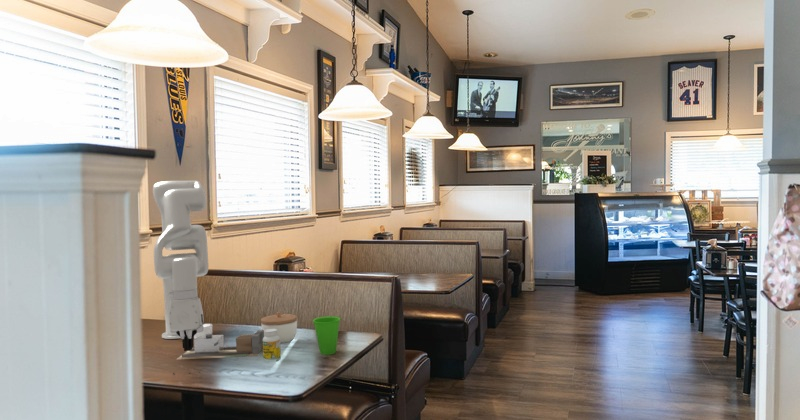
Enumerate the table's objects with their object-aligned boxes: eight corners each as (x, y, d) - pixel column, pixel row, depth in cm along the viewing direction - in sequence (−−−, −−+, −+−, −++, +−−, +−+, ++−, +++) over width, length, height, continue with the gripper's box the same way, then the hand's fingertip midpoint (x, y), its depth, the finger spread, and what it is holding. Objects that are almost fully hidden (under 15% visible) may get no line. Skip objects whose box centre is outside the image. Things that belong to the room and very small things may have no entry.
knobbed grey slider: (200, 350, 186) (199, 333, 186) (224, 349, 186) (223, 332, 186) (192, 356, 179) (191, 338, 179) (216, 355, 179) (216, 337, 179)
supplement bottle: (283, 358, 179) (282, 328, 178) (275, 363, 174) (273, 332, 173) (269, 357, 180) (267, 327, 180) (260, 362, 175) (258, 331, 175)
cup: (324, 347, 189) (322, 315, 189) (347, 350, 185) (345, 317, 185) (308, 355, 181) (307, 321, 181) (332, 357, 177) (330, 323, 177)
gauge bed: (190, 352, 190) (189, 331, 190) (266, 349, 190) (265, 328, 190) (176, 363, 178) (174, 340, 178) (257, 359, 178) (256, 337, 178)
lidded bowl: (255, 343, 199) (254, 312, 198) (287, 336, 207) (285, 307, 207) (272, 350, 189) (271, 317, 189) (304, 342, 197) (303, 311, 197)
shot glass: (207, 347, 196) (206, 327, 196) (189, 347, 197) (188, 327, 197) (217, 342, 203) (216, 323, 203) (200, 342, 204) (199, 323, 204)
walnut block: (241, 349, 186) (240, 334, 186) (255, 349, 186) (255, 334, 186) (236, 353, 181) (235, 338, 181) (251, 353, 181) (251, 338, 181)
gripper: (157, 297, 180) (160, 354, 180) (204, 295, 180) (207, 352, 180) (167, 293, 187) (170, 347, 188) (211, 291, 187) (214, 346, 188)
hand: (188, 349), depth 184 cm, fingers closed
